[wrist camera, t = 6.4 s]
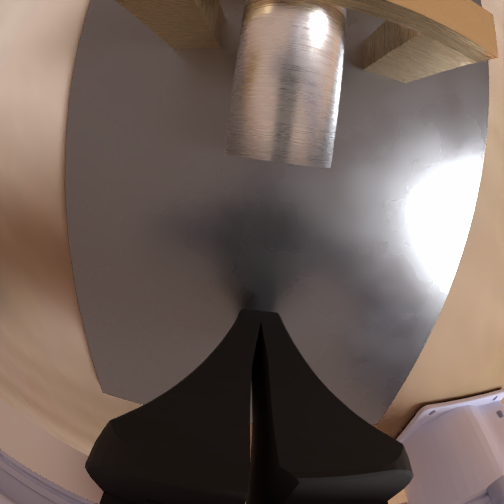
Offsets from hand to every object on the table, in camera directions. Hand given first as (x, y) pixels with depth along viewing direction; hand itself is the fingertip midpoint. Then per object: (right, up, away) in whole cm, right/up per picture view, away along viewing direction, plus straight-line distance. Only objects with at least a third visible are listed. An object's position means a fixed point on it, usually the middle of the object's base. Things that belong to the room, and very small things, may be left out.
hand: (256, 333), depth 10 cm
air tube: (+2, +12, -4) cm, 13 cm away
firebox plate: (+1, +6, -1) cm, 6 cm away
